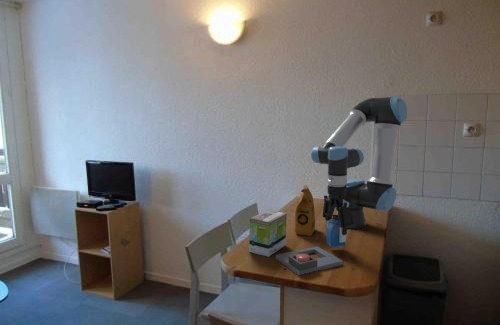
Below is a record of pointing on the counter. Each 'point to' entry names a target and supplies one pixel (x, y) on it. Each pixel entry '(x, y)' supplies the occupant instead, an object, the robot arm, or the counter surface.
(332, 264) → the pallet plate
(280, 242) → the tea box
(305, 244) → the counter surface
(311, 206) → the coffee package
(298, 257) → the button
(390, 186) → the robot arm
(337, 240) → the perfume bottle
